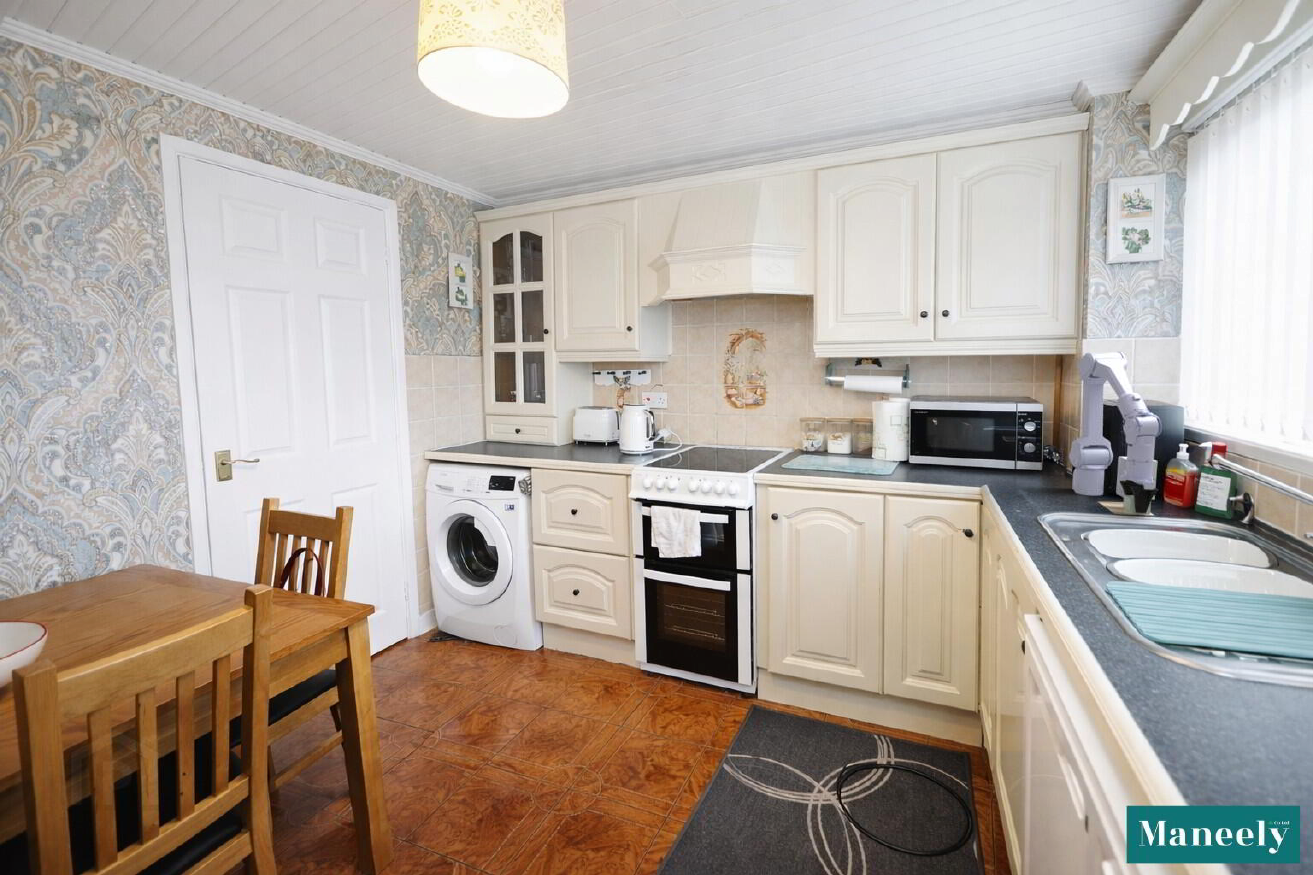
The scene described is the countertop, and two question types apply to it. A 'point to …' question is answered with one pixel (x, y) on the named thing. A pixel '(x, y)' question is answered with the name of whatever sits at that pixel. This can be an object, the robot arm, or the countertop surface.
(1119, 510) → the board
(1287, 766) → the countertop surface
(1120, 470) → the supplement box
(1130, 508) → the pale green block
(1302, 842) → the countertop surface
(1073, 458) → the robot arm
